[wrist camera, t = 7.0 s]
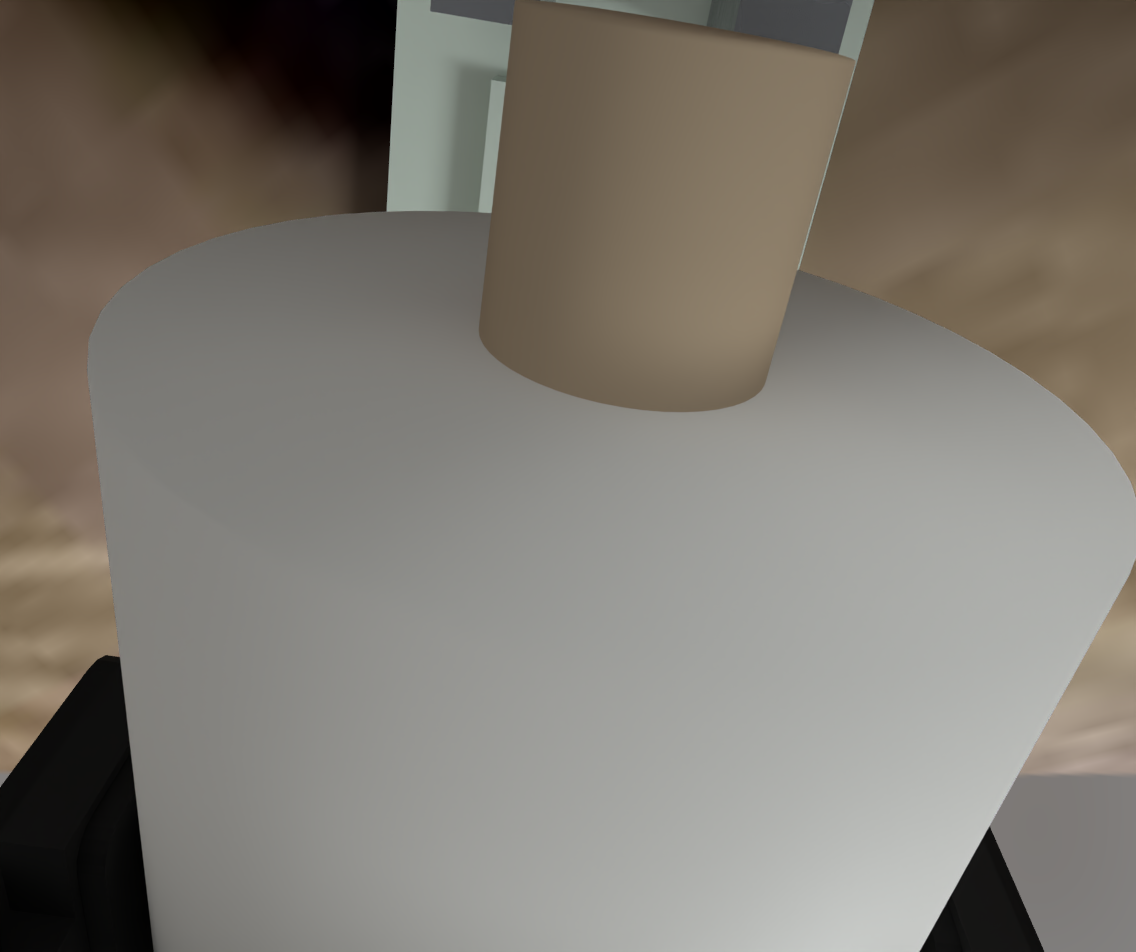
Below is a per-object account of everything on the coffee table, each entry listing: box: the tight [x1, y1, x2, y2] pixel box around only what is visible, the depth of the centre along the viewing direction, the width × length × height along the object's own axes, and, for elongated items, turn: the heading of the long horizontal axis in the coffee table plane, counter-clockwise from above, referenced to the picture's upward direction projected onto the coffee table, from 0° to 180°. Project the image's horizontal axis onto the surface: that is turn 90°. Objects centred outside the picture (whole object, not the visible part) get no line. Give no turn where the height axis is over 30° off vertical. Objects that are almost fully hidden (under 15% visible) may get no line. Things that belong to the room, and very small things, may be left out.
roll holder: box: [387, 0, 874, 270], centre depth 23 cm, size 11×19×6 cm, turn 171°
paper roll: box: [87, 0, 1136, 952], centre depth 9 cm, size 7×15×7 cm, turn 171°
